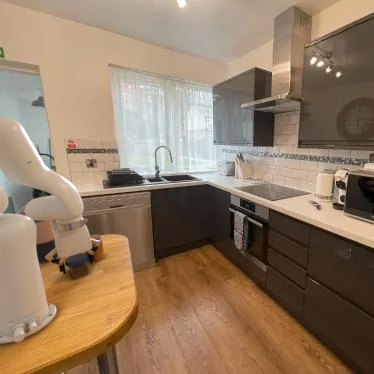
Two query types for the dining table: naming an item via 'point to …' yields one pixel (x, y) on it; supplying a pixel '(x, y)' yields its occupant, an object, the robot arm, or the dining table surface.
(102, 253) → the jam jar
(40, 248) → the travel mug
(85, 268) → the stand
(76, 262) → the jar lid
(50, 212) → the robot arm
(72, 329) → the dining table surface
